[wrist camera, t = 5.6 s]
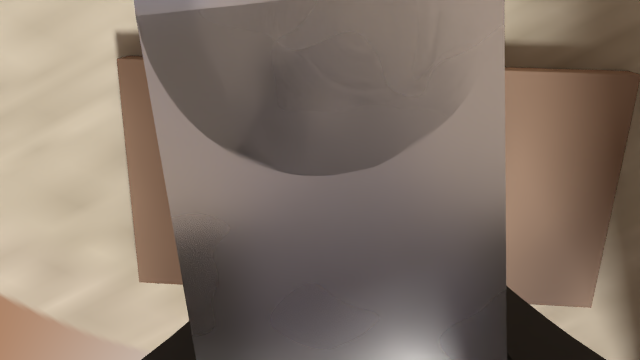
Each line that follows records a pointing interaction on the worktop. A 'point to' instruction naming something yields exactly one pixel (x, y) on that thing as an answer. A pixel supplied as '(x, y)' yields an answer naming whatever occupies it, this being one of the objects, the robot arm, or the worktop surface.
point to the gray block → (334, 174)
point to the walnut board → (520, 169)
